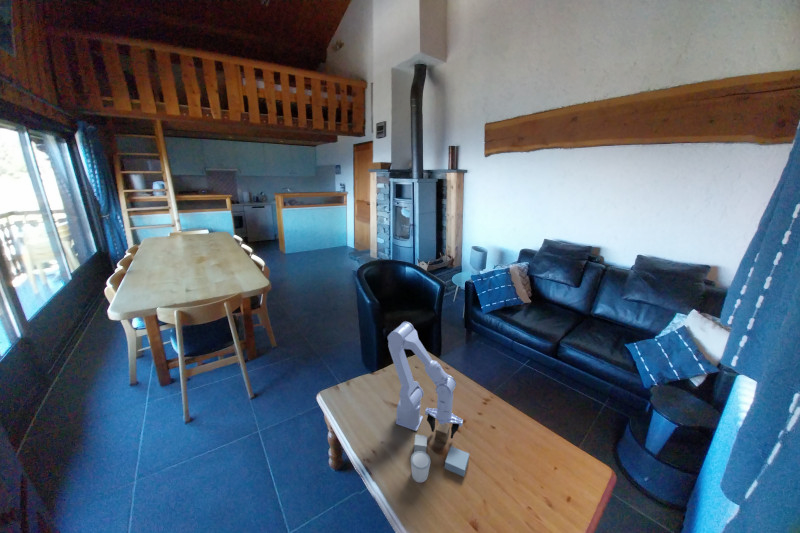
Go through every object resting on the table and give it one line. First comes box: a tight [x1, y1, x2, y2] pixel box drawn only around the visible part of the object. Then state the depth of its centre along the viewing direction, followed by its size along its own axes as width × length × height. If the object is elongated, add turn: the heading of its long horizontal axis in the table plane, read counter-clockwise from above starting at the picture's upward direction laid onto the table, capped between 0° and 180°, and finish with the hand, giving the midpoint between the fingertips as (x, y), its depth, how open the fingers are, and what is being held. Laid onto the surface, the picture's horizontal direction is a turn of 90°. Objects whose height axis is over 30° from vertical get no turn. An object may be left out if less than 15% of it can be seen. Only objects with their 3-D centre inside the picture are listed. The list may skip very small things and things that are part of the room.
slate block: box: [444, 445, 470, 478], centre depth 108 cm, size 7×7×4 cm
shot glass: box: [410, 451, 431, 483], centre depth 104 cm, size 7×7×7 cm
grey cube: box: [413, 434, 428, 454], centre depth 113 cm, size 4×4×5 cm
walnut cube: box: [434, 421, 451, 444], centre depth 119 cm, size 4×4×5 cm
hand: (442, 433), depth 119 cm, fingers open, 7 cm apart
